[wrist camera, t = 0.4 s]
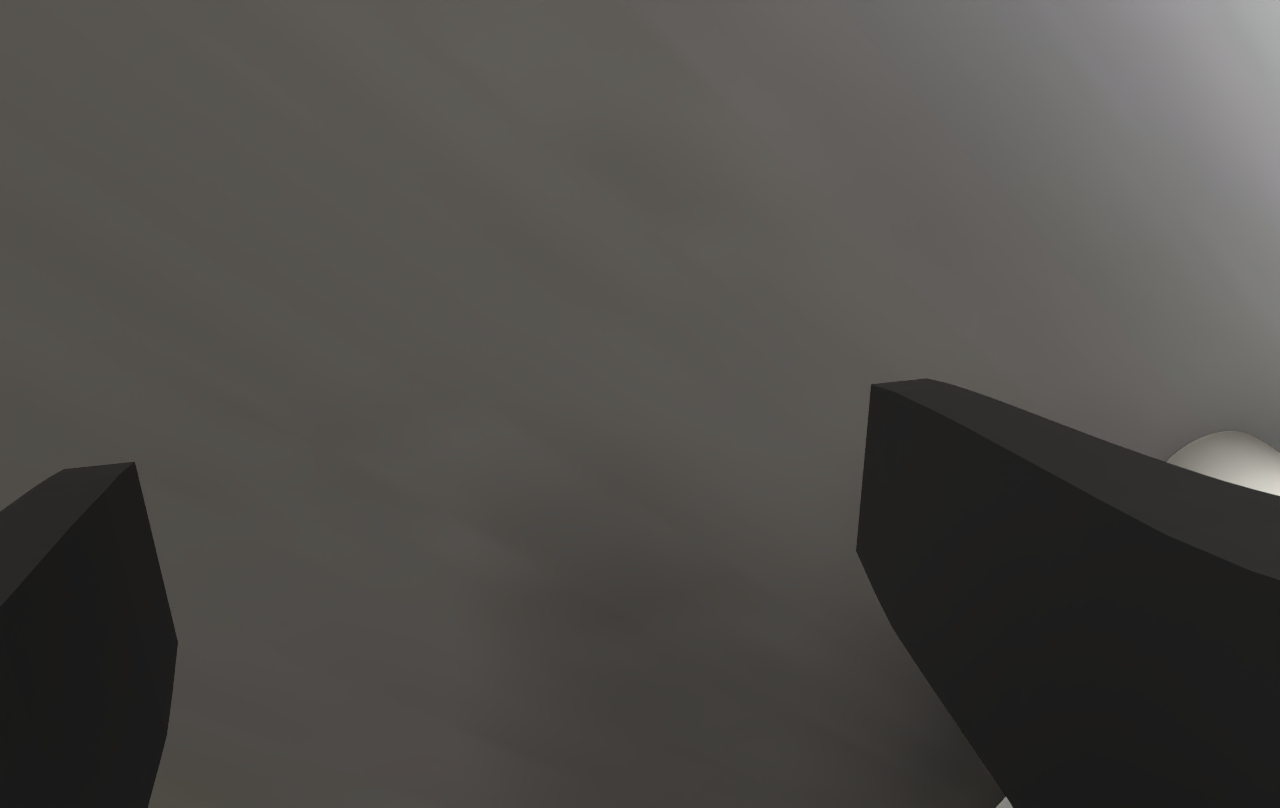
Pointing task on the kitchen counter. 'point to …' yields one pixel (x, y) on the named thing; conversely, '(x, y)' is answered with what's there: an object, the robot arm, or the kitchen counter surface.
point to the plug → (1228, 468)
